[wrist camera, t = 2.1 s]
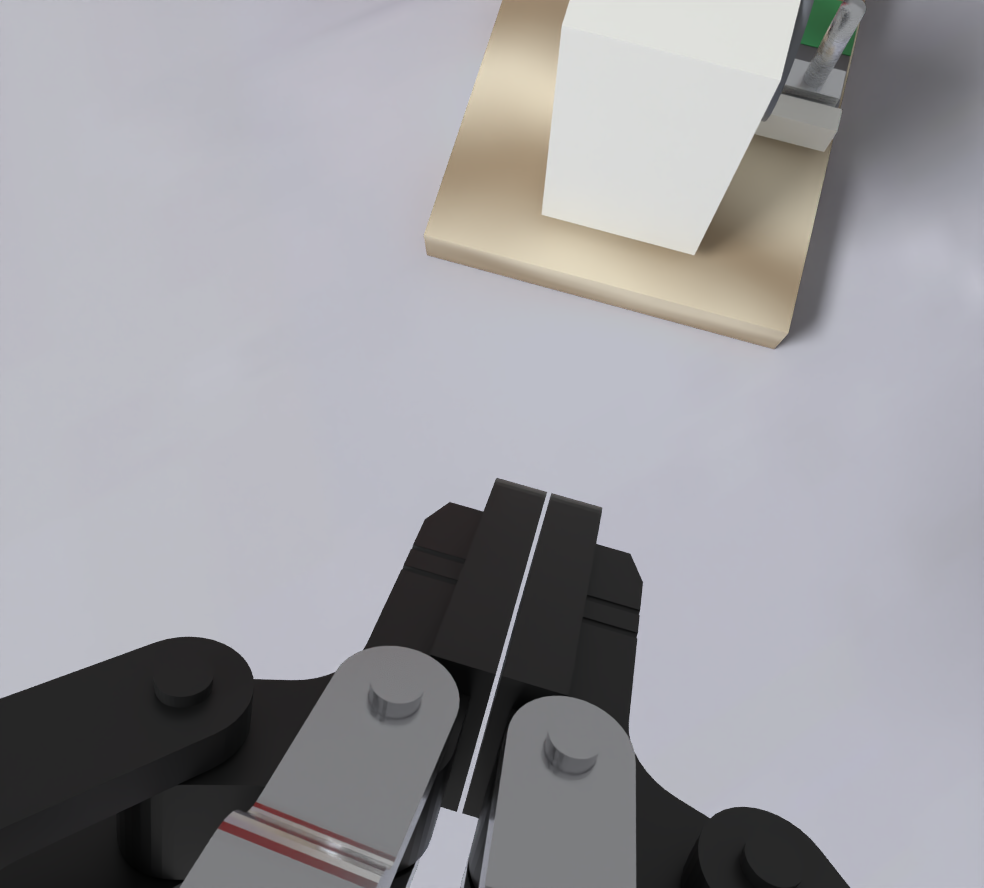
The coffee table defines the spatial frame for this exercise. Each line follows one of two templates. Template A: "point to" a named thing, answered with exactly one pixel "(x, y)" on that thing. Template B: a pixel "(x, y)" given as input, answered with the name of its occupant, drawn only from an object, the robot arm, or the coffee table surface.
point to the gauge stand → (609, 257)
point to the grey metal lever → (826, 60)
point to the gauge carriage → (670, 110)
